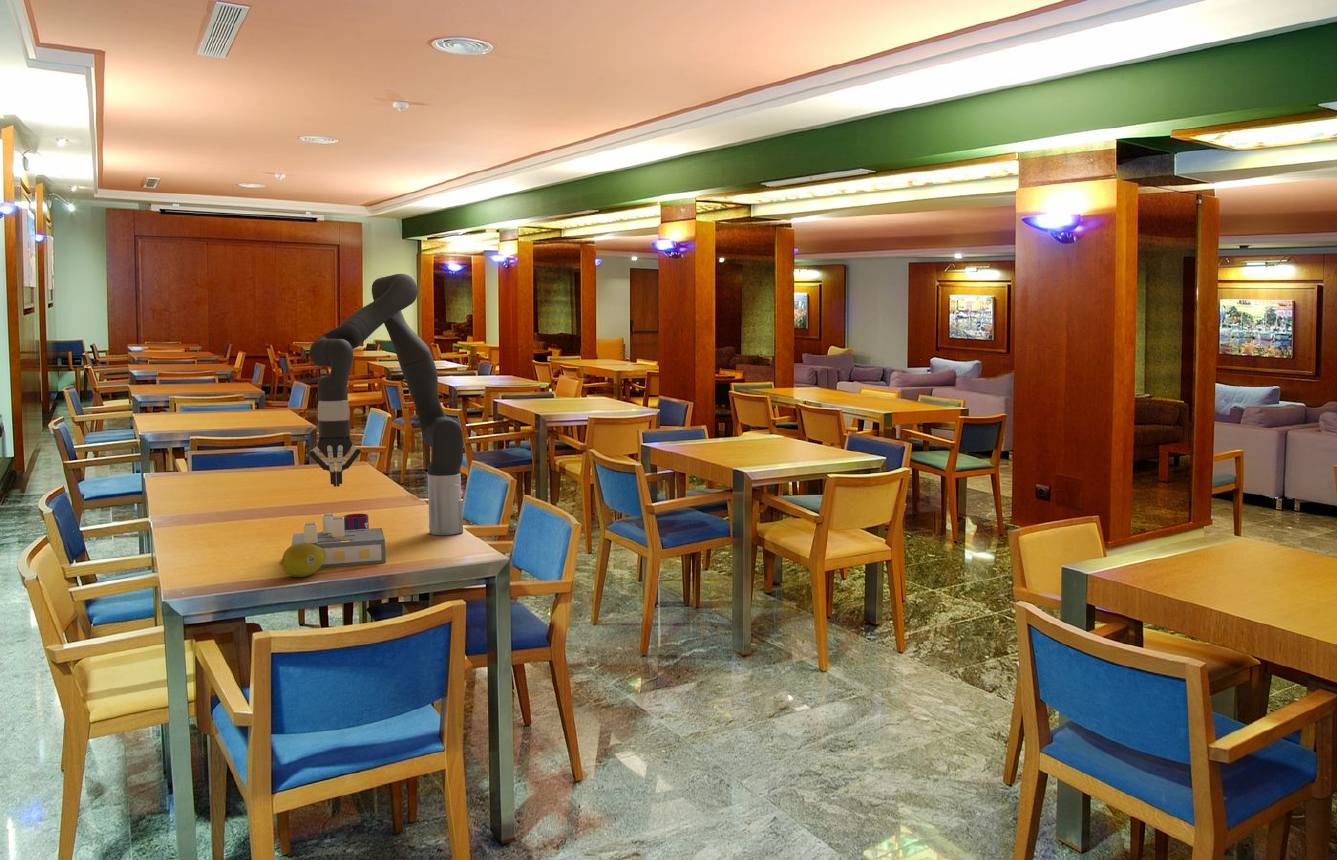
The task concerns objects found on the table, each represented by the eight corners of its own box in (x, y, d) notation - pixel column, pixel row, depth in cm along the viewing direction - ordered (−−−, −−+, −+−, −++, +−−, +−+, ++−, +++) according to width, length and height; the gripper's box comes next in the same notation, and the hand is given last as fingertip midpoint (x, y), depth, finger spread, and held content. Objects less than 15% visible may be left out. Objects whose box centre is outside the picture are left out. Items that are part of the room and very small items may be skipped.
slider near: (317, 540, 243) (316, 521, 243) (317, 542, 241) (316, 524, 240) (304, 541, 242) (303, 522, 242) (304, 543, 240) (303, 525, 239)
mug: (360, 542, 269) (359, 518, 268) (328, 540, 272) (327, 516, 271) (373, 537, 275) (372, 514, 275) (343, 535, 278) (342, 512, 278)
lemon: (284, 583, 227) (283, 549, 226) (276, 576, 233) (274, 543, 232) (331, 576, 233) (330, 543, 232) (322, 569, 239) (321, 537, 238)
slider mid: (344, 534, 251) (343, 516, 250) (344, 536, 248) (344, 518, 247) (332, 535, 250) (331, 516, 249) (332, 537, 247) (331, 519, 246)
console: (382, 550, 260) (381, 527, 260) (385, 563, 246) (385, 539, 245) (294, 556, 253) (293, 533, 252) (292, 570, 238) (291, 545, 238)
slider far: (335, 530, 255) (334, 512, 255) (335, 532, 252) (334, 515, 252) (322, 531, 254) (322, 513, 254) (322, 533, 251) (322, 515, 251)
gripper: (360, 416, 251) (363, 482, 253) (306, 417, 247) (309, 485, 249) (361, 418, 244) (364, 487, 246) (305, 420, 240) (308, 490, 242)
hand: (336, 486), depth 248 cm, fingers closed
